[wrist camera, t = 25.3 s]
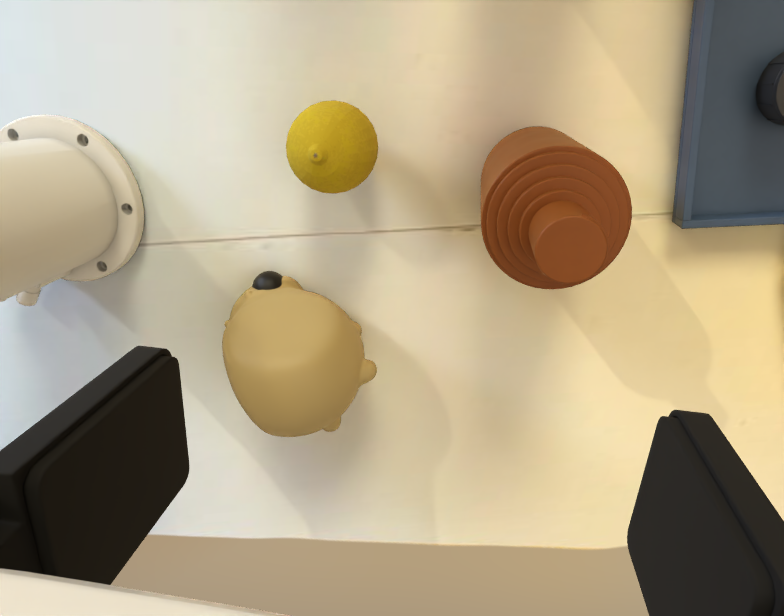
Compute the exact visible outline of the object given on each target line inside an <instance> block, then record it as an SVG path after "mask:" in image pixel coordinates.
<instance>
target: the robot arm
mask: <svg viewBox="0 0 784 616" xmlns="http://www.w3.org/2000/svg"><path fill="white" fill-rule="evenodd" d="M143 227H144V209H143V202H142V196H141V193H140V190H139V187H138V184H137V181H136V179H135V177H134V175H133V173H132V171H131V169H130V167H129V165H128V164H127V162H126V161H125V160H124V158H123V157H122V156H121V154H120V153H119V151H118V150H117V149H116V148H115V147H114V146H113V145H112V144H111V143H110V142H109V141H108V140H107V139H106V138H105V137H103V136H102V135H101V134H99V133H98V132H96V131H95V130H94V129H92V128H91V127H89V126H87V125H85V124H83V123H81V122H79V121H77V120H74V119H71V118H67V117H64V116H59V115H34V116H27V117H24V118H20V119H17V120H15V121H13V122H11V123H9V124H7V125H6V126H5V127H3V128H2V130H1V131H0V302H2V301H5V300H6V299H7V298H9V297H12V296H14V295H16V294H17V297H16V299H17V301H18V302H19V303H20V304H22V305H25V306H32V305H35V304H36V302H37V299H38V297H39V294H40V292H41V290H40V289H41V287H43V286H45V285H47V284H49V283H51V282H53V281H56V280H58V279H60V278H61V279H65V280H71V281H91V280H96V279H99V278H102V277H105V276H107V275H109V274H111V273H113V272H115V271H117V270H118V269H120V268H121V267H122V266H123V265H125V264H126V263H127V262H128V261H129V260H130V258H131V257H132V256H133V254H134V253H135V252H136V249H137V247H138V245H139V243H140V241H141V236H142V232H143ZM188 474H189V457H188V448H187V438H186V428H185V419H184V409H183V399H182V390H181V380H180V370H179V363H178V360H177V358H175V357H172V356H171V353H170V352H169V351H168V350H167V349H162V348H154V347H146V346H137V347H135V348H134V349H132V350H131V351H130V352H128V353H127V354H126V355H124V356H123V357H122V358H121V359H119V360H118V361H117V362H115V363H114V364H113V365H111V366H110V367H109V368H108V369H106V370H105V371H104V372H102V373H101V374H100V375H98V376H97V377H96V378H95V379H93V380H92V381H91V382H89V383H88V384H87V385H85V386H84V387H83V388H82V389H80V390H79V391H78V392H76V393H75V394H74V395H72V396H71V397H70V398H68V399H67V400H66V401H65V402H63V403H62V404H61V405H59V406H58V407H57V408H55V409H54V410H53V411H52V412H50V413H49V414H48V415H46V416H45V417H44V418H42V419H41V420H40V421H39V422H37V423H36V424H35V425H33V426H32V427H31V428H29V429H28V430H27V431H25V432H24V433H23V434H22V435H20V436H19V437H18V438H16V439H15V440H14V441H12V442H11V443H10V444H9V445H7V446H6V447H5V448H3V449H2V450H1V451H0V616H292V615H286V614H280V613H274V612H268V611H263V610H257V609H251V608H244V607H239V606H233V605H227V604H221V603H215V602H209V601H203V600H196V599H191V598H185V597H179V596H173V595H167V594H161V593H155V592H149V591H143V590H137V589H130V588H124V587H119V586H113V585H111V583H112V582H113V580H114V579H115V578H116V576H117V575H118V574H119V572H120V571H121V570H122V568H123V567H124V566H125V564H126V563H127V561H128V560H129V558H130V557H131V556H132V555H133V553H134V552H135V551H136V549H137V548H138V546H139V545H140V544H141V542H142V541H143V540H144V538H145V537H146V536H147V534H148V533H149V532H150V530H151V529H152V528H153V526H154V525H155V523H156V522H157V521H158V519H159V518H160V517H161V515H162V514H163V513H164V511H165V510H166V509H167V507H168V506H169V504H170V503H171V502H172V500H173V499H174V498H175V496H176V495H177V494H178V492H179V491H180V490H181V488H182V487H183V485H184V484H185V482H186V480H187V477H188ZM627 543H628V549H629V553H630V556H631V559H632V562H633V565H634V569H635V571H636V575H637V578H638V581H639V584H640V588H641V591H642V594H643V597H644V600H645V603H646V606H647V610H648V613H649V616H784V521H783V520H782V518H781V517H780V515H779V514H778V512H777V511H776V509H775V508H774V507H773V505H772V504H771V502H770V501H769V499H768V498H767V496H766V495H765V493H764V492H763V491H762V489H761V488H760V486H759V485H758V483H757V482H756V480H755V479H754V478H753V476H752V475H751V473H750V472H749V470H748V469H747V467H746V466H745V465H744V463H743V462H742V460H741V459H740V457H739V456H738V454H737V453H736V452H735V450H734V449H733V447H732V446H731V444H730V443H729V441H728V440H727V439H726V437H725V436H724V434H723V433H722V431H721V430H720V428H719V427H718V425H717V424H716V423H715V421H714V420H713V418H712V417H711V416H710V415H709V414H706V413H698V412H690V411H681V410H673V411H672V412H671V413H670V415H669V417H666V416H662V417H660V419H659V421H658V423H657V427H656V430H655V434H654V438H653V441H652V445H651V448H650V452H649V456H648V459H647V463H646V467H645V470H644V474H643V477H642V481H641V485H640V488H639V492H638V495H637V499H636V503H635V506H634V510H633V514H632V517H631V521H630V524H629V528H628V535H627Z"/></svg>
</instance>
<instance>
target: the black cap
mask: <svg viewBox="0 0 784 616" xmlns="http://www.w3.org/2000/svg"><path fill="white" fill-rule="evenodd" d="M756 101H757V105H758V108H759V110H760V111H761V113H762V114H763V116H764V117H766V118H767V120H768V121H771V122H773V123H775V124H779V125H784V52H782V53H781V54H779V55H778V56H776V57H775V58H774V59H773V60H772V61H771V62H770V63H768V65H767V67H766V68H765V69H764V71H763V72H762V74H761V76H760V78H759V81H758V83H757V89H756Z"/></svg>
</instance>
